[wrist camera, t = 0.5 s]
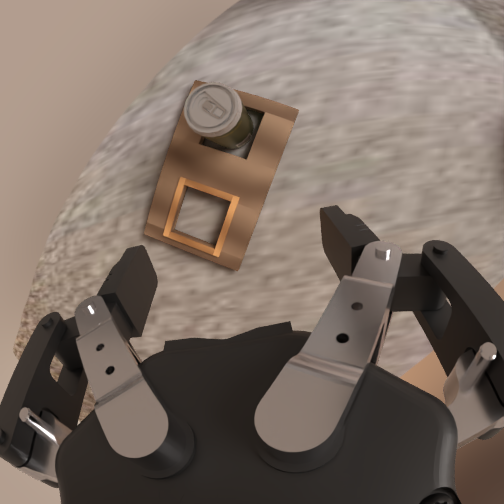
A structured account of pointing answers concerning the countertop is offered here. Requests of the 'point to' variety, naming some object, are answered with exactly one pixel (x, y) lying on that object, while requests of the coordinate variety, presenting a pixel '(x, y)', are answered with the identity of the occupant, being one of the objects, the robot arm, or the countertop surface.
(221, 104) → the beer can
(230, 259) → the socket board
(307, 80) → the countertop surface
